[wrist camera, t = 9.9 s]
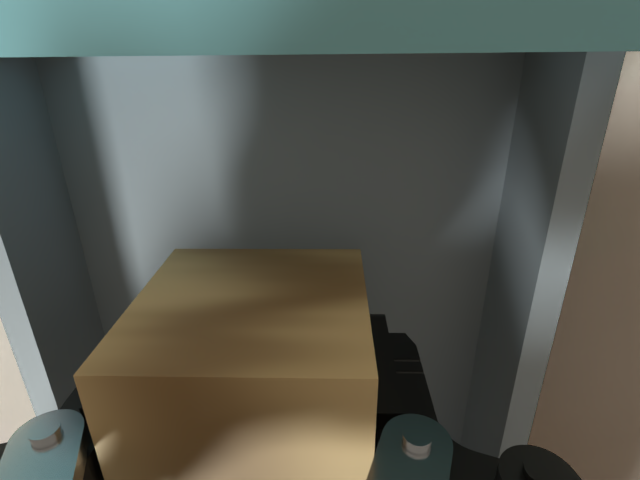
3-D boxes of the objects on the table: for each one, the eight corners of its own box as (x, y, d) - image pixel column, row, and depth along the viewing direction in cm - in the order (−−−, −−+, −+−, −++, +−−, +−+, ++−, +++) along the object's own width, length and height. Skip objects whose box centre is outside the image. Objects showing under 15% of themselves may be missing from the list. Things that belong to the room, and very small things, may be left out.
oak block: (360, 249, 12) (378, 379, 7) (356, 394, 14) (367, 569, 9) (174, 248, 12) (72, 375, 7) (197, 392, 14) (129, 563, 9)
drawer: (639, -171, 11) (1050, -471, 5) (503, 445, 20) (583, 632, 13) (-76, -152, 12) (-563, -391, 5) (97, 436, 21) (-12, 611, 14)
